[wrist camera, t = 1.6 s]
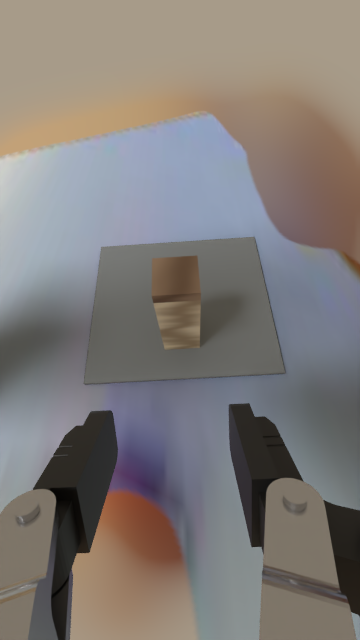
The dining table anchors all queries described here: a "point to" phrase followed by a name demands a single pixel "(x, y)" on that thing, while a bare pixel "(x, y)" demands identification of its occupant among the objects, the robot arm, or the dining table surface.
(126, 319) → the rubber mat
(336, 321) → the dining table surface
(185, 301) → the maple block
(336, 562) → the robot arm
